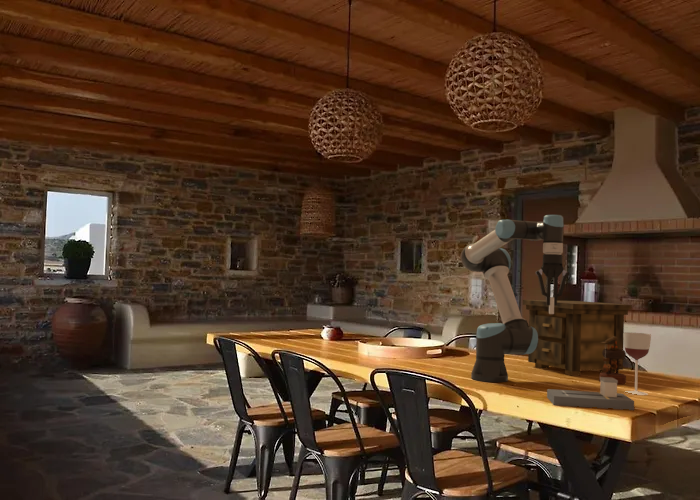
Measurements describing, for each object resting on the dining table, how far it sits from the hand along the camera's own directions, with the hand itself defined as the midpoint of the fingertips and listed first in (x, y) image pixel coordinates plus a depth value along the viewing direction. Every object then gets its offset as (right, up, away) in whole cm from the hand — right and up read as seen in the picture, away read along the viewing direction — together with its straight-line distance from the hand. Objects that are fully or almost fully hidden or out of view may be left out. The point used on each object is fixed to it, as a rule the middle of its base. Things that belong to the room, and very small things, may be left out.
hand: (551, 313), depth 248 cm
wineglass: (+32, -31, -3) cm, 44 cm away
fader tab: (+11, -26, -29) cm, 40 cm away
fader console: (+4, -29, -28) cm, 40 cm away
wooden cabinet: (+28, -33, +54) cm, 69 cm away
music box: (+34, -32, +22) cm, 51 cm away
